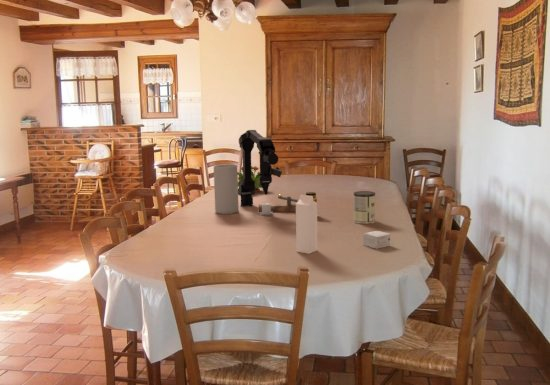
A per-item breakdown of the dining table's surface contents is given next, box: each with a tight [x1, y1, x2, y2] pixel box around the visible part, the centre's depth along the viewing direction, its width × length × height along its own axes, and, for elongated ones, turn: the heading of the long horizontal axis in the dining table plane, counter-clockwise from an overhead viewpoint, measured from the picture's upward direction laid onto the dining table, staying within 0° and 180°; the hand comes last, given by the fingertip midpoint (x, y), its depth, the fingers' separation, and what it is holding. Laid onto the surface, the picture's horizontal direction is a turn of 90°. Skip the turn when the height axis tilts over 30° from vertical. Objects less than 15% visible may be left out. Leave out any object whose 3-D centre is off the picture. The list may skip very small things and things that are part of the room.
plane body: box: [258, 196, 296, 213], centre depth 288 cm, size 20×6×7 cm, turn 92°
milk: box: [295, 194, 318, 255], centre depth 206 cm, size 6×6×22 cm
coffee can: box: [353, 190, 376, 225], centre depth 257 cm, size 10×10×14 cm
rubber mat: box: [259, 212, 274, 217], centre depth 280 cm, size 7×7×1 cm
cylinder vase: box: [213, 163, 240, 215], centre depth 285 cm, size 12×12×25 cm
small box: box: [362, 230, 391, 250], centre depth 214 cm, size 8×8×5 cm
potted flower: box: [237, 165, 271, 193], centre depth 353 cm, size 25×24×18 cm
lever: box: [277, 194, 299, 203], centre depth 288 cm, size 12×2×2 cm, turn 92°
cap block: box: [261, 202, 271, 214], centre depth 279 cm, size 4×4×5 cm
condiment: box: [305, 191, 320, 217], centre depth 272 cm, size 7×8×12 cm
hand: (265, 193), depth 278 cm, fingers open, 9 cm apart
